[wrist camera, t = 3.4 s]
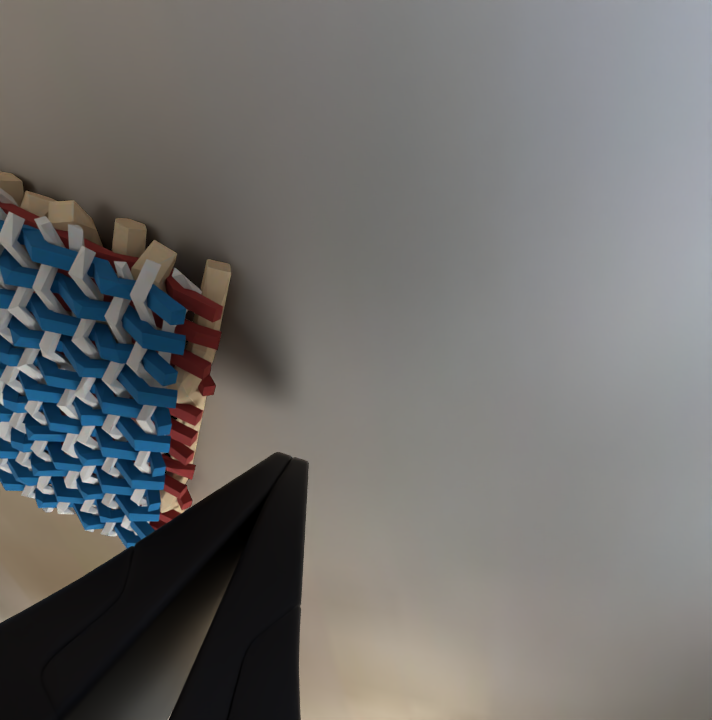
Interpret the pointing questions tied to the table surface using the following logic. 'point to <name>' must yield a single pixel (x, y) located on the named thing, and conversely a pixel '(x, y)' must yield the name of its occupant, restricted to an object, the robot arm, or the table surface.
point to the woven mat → (100, 365)
